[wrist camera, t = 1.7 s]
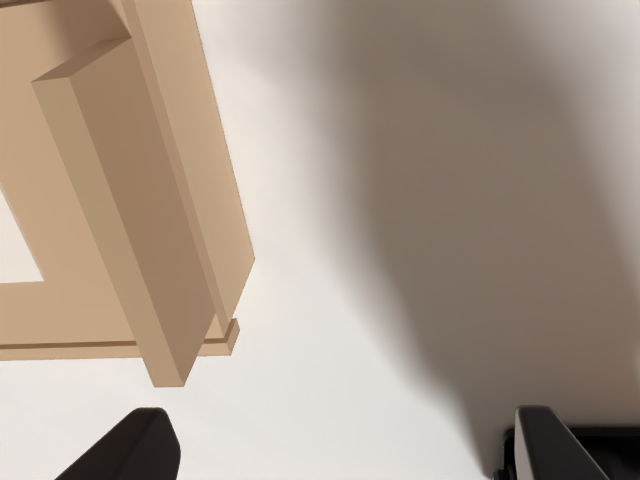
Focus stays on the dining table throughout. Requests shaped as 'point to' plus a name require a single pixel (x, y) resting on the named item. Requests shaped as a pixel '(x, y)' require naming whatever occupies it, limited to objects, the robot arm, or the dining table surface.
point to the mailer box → (198, 139)
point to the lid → (96, 199)
